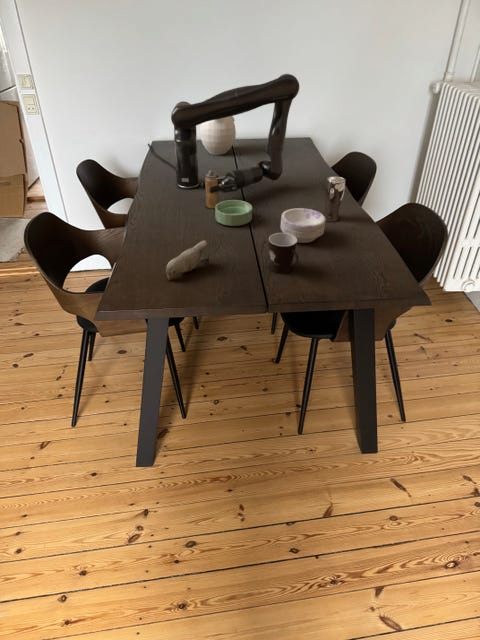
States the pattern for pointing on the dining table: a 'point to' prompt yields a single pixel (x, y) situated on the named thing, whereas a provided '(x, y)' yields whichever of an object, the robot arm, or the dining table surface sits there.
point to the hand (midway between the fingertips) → (206, 188)
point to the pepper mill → (210, 197)
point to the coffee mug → (282, 252)
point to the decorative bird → (186, 260)
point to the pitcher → (218, 135)
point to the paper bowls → (303, 224)
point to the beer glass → (333, 197)
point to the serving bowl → (233, 212)
